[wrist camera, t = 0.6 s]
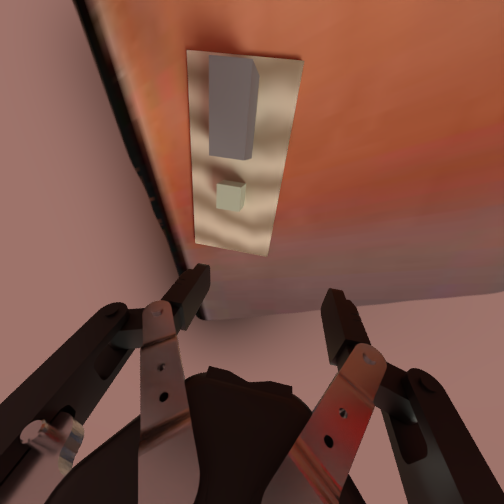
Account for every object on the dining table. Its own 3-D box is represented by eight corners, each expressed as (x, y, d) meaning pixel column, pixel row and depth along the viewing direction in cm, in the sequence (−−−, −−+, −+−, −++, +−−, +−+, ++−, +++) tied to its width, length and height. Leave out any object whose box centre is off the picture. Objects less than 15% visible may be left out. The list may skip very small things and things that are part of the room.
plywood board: (189, 52, 26) (186, 49, 25) (303, 63, 24) (304, 60, 24) (197, 240, 41) (195, 242, 40) (267, 254, 40) (267, 256, 39)
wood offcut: (224, 179, 33) (216, 183, 29) (246, 183, 32) (241, 187, 29) (223, 202, 35) (216, 208, 31) (244, 205, 34) (239, 212, 31)
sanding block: (224, 73, 26) (208, 54, 20) (260, 77, 25) (252, 58, 20) (222, 154, 31) (209, 155, 25) (251, 158, 30) (244, 160, 25)
